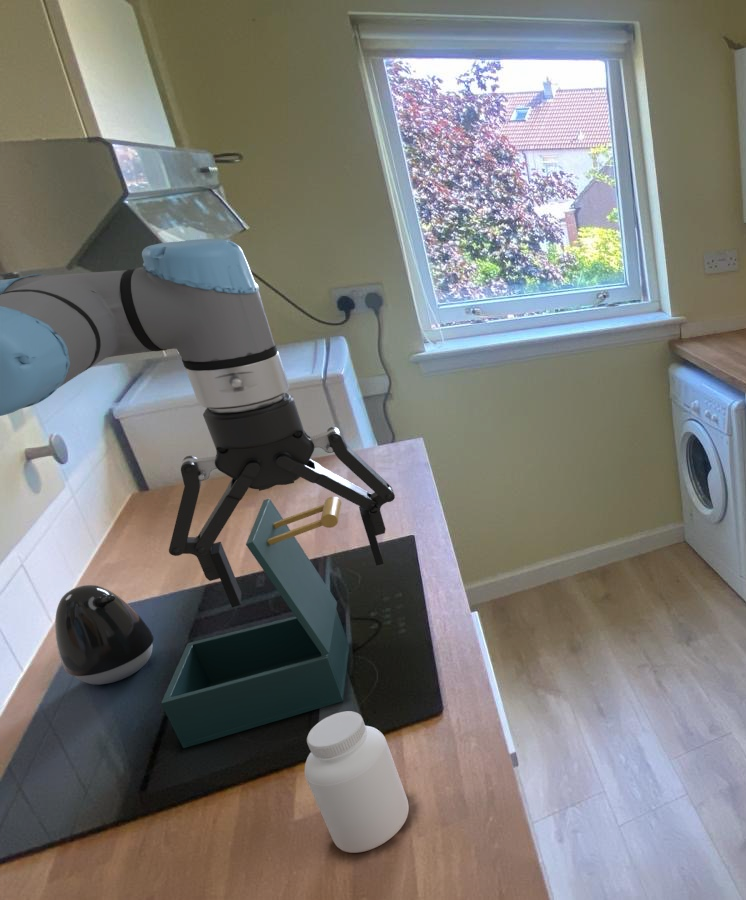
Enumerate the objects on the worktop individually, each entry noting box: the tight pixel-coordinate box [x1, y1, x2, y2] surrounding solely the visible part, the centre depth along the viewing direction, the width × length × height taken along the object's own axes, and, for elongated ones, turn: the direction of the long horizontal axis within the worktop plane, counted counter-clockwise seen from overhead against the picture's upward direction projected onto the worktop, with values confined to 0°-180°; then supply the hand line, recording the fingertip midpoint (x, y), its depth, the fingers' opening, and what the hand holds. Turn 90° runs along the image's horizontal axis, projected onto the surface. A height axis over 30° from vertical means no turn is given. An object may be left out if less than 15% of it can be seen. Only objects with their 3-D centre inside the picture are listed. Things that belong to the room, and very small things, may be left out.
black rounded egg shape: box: [54, 584, 154, 685], centre depth 109 cm, size 10×10×15 cm
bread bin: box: [160, 608, 350, 749], centre depth 105 cm, size 19×14×8 cm
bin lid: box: [245, 496, 342, 656], centre depth 103 cm, size 19×14×9 cm
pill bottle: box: [304, 710, 410, 854], centre depth 82 cm, size 8×8×15 cm
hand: (310, 579), depth 82 cm, fingers open, 13 cm apart
